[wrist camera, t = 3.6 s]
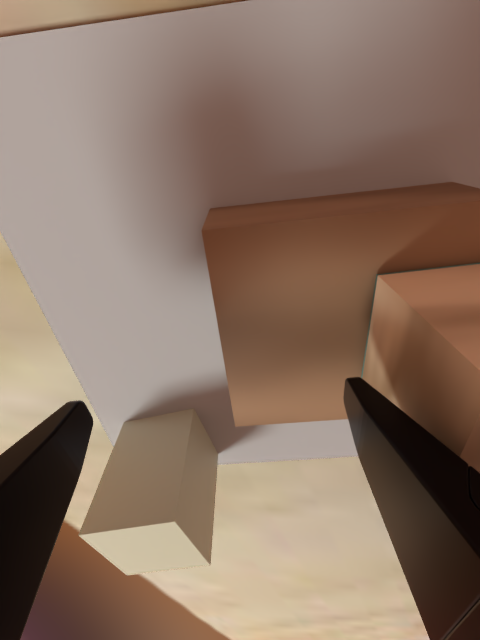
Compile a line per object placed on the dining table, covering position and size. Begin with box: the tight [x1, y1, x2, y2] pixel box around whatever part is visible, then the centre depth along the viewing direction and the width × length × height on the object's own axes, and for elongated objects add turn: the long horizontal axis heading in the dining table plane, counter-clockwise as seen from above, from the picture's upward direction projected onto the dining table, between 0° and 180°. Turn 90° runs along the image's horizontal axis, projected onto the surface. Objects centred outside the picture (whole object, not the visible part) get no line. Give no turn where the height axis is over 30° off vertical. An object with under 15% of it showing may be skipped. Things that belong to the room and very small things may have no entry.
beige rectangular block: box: [79, 408, 218, 575], centre depth 17 cm, size 4×4×6 cm
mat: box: [0, 0, 480, 465], centre depth 14 cm, size 22×26×1 cm
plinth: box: [201, 182, 480, 427], centre depth 13 cm, size 9×9×3 cm
